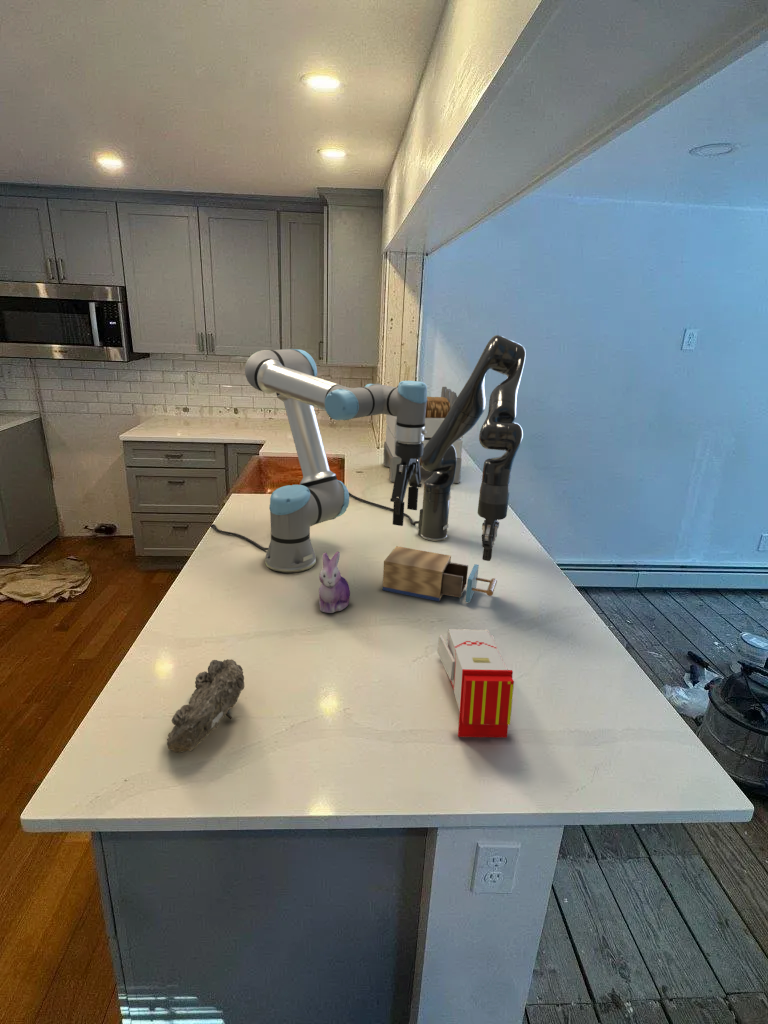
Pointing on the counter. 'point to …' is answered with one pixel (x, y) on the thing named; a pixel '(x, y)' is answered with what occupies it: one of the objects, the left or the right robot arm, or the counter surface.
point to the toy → (478, 682)
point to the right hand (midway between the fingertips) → (486, 559)
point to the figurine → (332, 586)
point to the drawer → (463, 581)
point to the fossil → (206, 705)
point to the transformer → (433, 419)
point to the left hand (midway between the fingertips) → (405, 516)
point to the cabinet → (415, 572)
